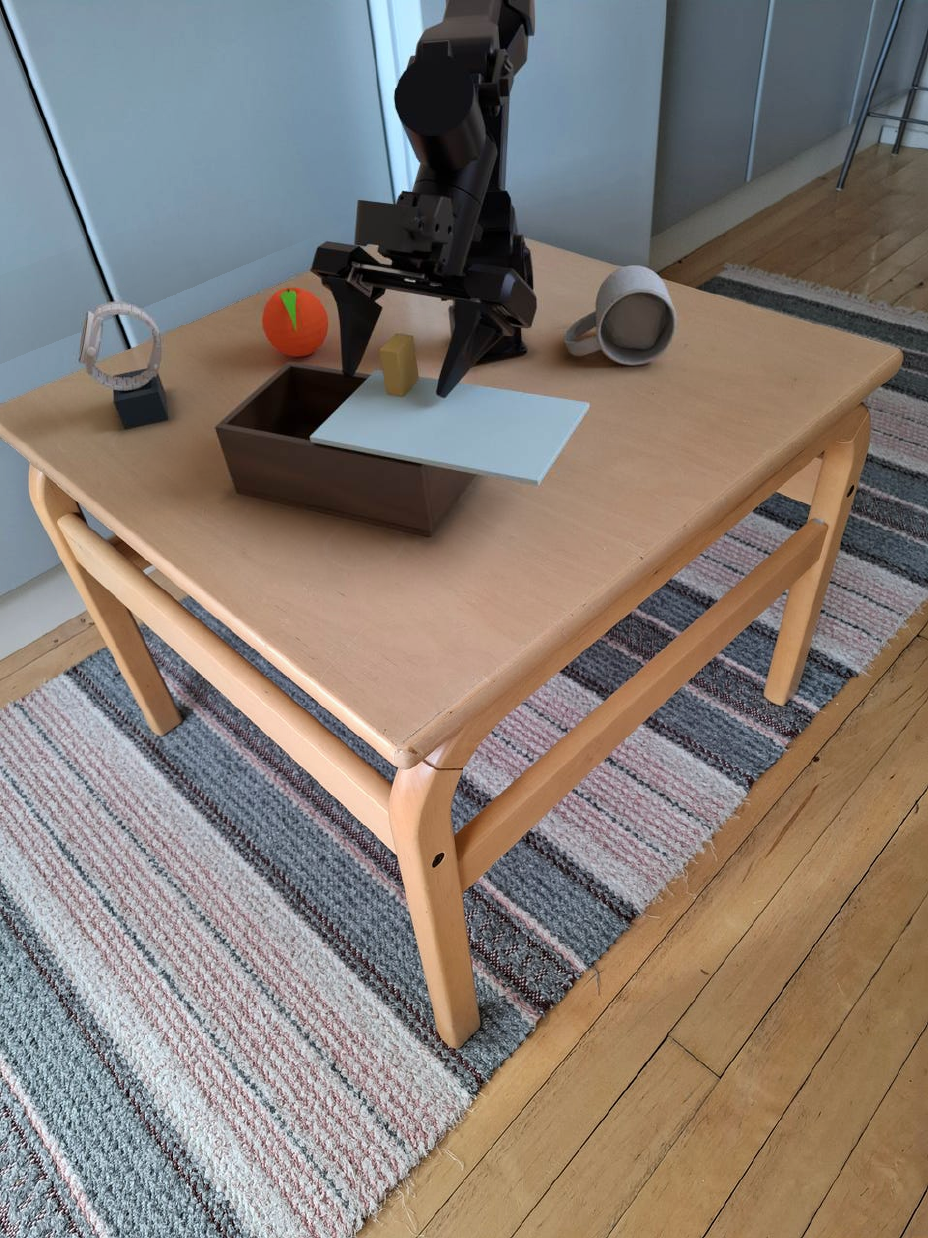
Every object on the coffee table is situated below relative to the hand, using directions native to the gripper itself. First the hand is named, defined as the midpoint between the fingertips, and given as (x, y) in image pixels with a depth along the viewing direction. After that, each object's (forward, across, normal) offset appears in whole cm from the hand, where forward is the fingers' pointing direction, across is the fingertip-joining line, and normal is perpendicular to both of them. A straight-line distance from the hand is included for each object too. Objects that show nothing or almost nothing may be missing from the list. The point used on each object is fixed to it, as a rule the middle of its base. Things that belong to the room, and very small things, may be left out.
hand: (392, 385), depth 74 cm
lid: (+2, +6, 0) cm, 7 cm away
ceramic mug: (-13, +9, +25) cm, 29 cm away
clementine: (-4, -22, +16) cm, 28 cm away
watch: (+7, -31, +5) cm, 32 cm away
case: (+8, -3, +4) cm, 9 cm away
